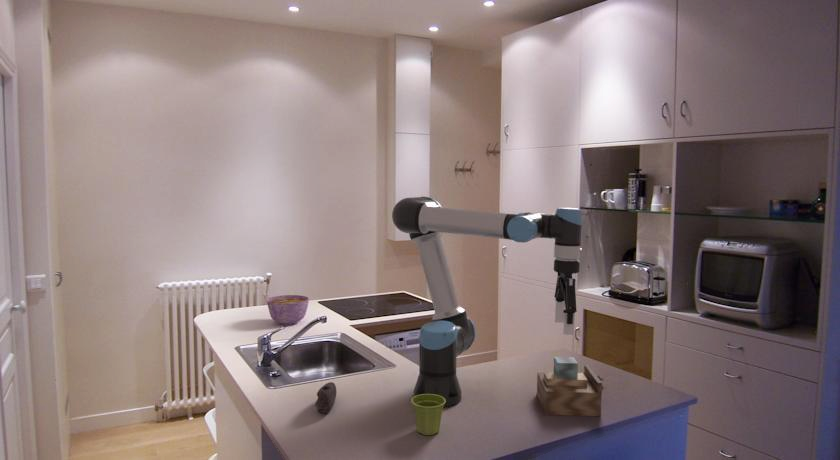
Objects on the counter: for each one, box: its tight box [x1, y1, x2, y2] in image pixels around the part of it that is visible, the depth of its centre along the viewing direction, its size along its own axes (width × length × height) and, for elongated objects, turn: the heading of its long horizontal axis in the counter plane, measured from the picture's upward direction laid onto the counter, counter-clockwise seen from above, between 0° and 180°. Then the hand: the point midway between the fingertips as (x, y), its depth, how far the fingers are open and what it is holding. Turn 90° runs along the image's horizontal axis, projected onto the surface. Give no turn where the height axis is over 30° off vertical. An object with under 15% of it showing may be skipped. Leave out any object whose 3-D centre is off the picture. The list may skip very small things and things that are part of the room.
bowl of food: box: [266, 294, 310, 326], centre depth 262 cm, size 20×20×12 cm
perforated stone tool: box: [315, 381, 337, 414], centre depth 165 cm, size 15×5×7 cm, turn 176°
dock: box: [536, 364, 603, 417], centre depth 167 cm, size 16×16×10 cm
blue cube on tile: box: [543, 356, 588, 386], centre depth 167 cm, size 12×6×7 cm, turn 87°
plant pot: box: [410, 394, 446, 436], centre depth 149 cm, size 9×9×9 cm
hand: (563, 328), depth 166 cm, fingers open, 13 cm apart
